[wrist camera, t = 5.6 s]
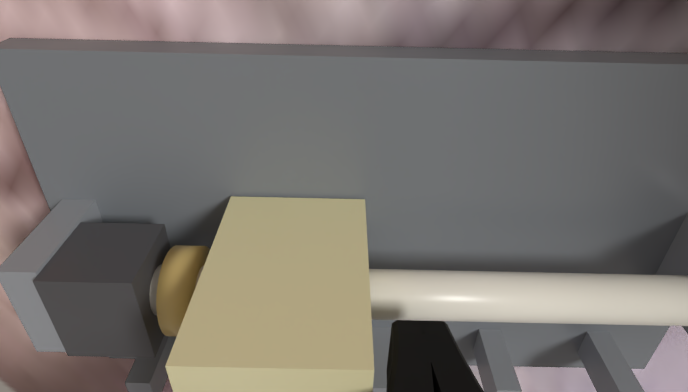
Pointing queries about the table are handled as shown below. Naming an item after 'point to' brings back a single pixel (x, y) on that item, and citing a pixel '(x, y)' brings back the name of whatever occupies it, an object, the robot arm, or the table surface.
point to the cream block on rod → (280, 302)
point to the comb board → (361, 191)
